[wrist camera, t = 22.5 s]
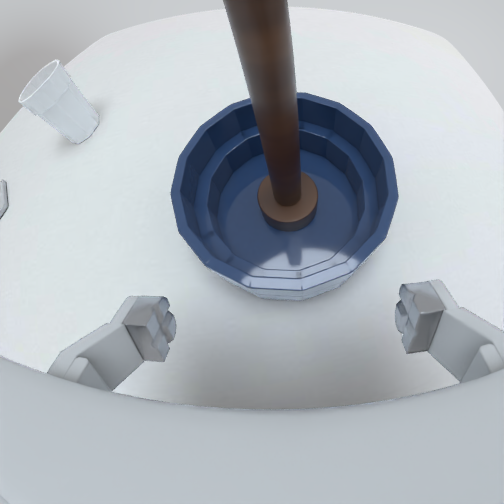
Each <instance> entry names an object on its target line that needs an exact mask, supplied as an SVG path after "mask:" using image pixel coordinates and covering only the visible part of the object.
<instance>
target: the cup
mask: <svg viewBox="0 0 504 504" xmlns="http://www.w3.org/2000/svg"><path fill="white" fill-rule="evenodd" d="M19 102H20V104H22V105H23V106H24V107H25V108H26V109H28V110H29V111H30V112H31V113H33V114H34V115H38V116H39V117H41V118H42V119H43V120H44V121H46V122H47V123H48V124H49V125H51V126H52V127H53V128H54V129H56V130H57V131H58V132H60V133H61V134H62V135H63V136H65V137H66V138H67V139H68V140H70V141H71V142H73V143H76V144H79V143H81V142H82V141H84V140H85V139H87V138H89V137H90V136H91V134H92V133H93V132H94V130H95V129H96V127H97V126H98V125H99V114H98V113H97V112H96V111H95V110H94V108H93V107H92V106H91V104H90V103H89V102H88V101H87V99H86V98H85V97H84V95H83V94H82V93H81V91H80V90H79V89H78V87H77V86H76V85H75V83H74V82H73V81H72V79H71V76H70V75H69V73H68V72H67V71H66V69H65V68H64V66H63V65H62V64H61V62H60V61H59V60H54V61H52V62H50V63H49V64H47V65H46V66H45V67H43V68H42V69H41V70H40V71H39V72H38V73H37V74H36V75H35V76H34V77H33V78H32V79H31V80H30V81H29V83H28V84H27V85H26V87H25V88H24V89H23V91H22V93H21V95H20V96H19Z"/></svg>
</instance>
